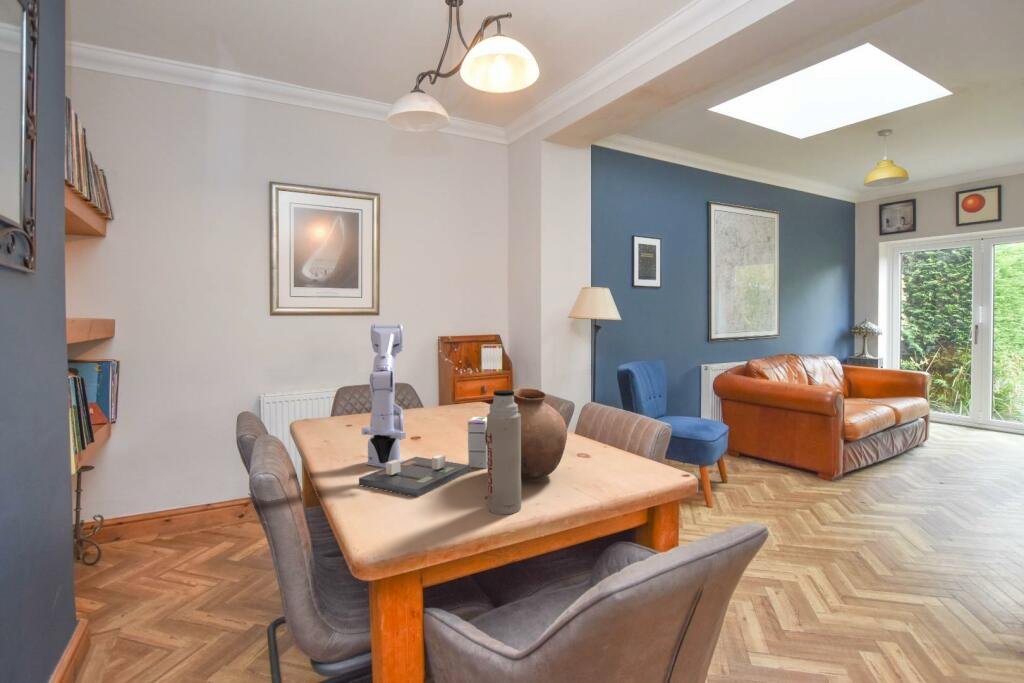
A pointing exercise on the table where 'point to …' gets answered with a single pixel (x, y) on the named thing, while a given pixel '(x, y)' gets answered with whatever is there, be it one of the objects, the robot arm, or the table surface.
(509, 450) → the thermos bottle
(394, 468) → the beige rectangular block
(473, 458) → the syrup box
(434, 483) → the breaker panel
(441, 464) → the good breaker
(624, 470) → the table surface
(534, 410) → the pottery
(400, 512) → the table surface
